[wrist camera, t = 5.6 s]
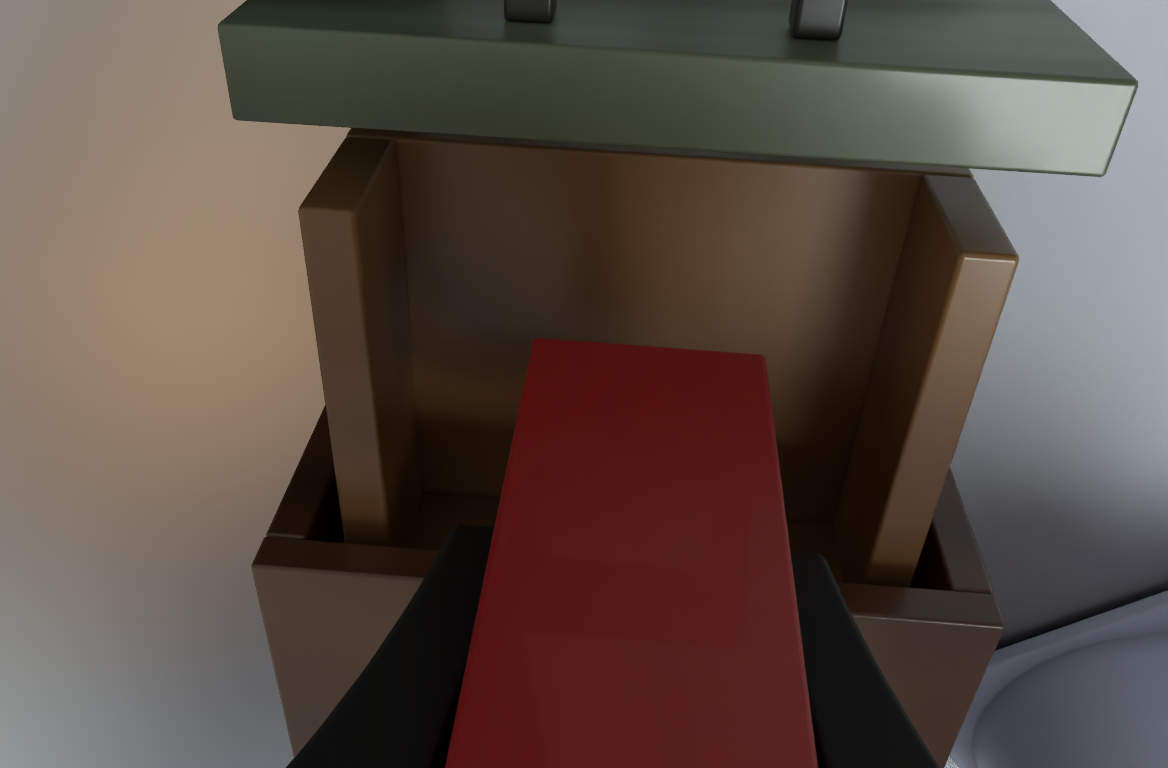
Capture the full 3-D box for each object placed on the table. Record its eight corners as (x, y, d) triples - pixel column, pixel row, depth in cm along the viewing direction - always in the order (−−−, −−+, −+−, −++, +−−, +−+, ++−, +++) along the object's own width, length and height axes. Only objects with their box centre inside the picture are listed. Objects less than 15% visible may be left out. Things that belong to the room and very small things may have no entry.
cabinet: (339, 369, 20) (249, 566, 16) (934, 413, 20) (1006, 626, 16) (383, 715, 27) (328, 919, 23) (828, 752, 27) (858, 968, 22)
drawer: (264, -418, 12) (135, -438, 9) (1154, -375, 12) (1315, -383, 9) (367, 479, 21) (317, 618, 18) (886, 519, 21) (923, 667, 18)
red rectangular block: (533, 335, 13) (423, 858, 7) (766, 351, 13) (836, 895, 7) (530, 554, 15) (447, 1078, 10) (727, 571, 15) (759, 1110, 10)
